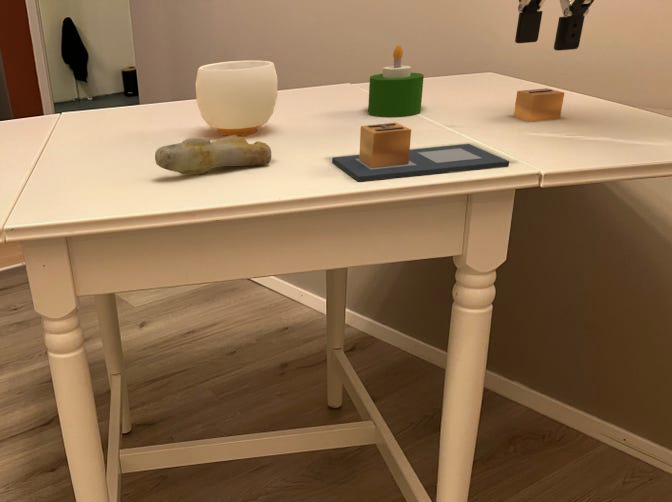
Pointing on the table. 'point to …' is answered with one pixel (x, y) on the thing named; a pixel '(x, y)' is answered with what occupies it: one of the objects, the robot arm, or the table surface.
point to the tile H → (385, 145)
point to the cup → (236, 95)
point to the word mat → (424, 163)
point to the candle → (395, 90)
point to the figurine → (211, 154)
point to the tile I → (538, 104)
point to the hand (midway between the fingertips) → (545, 45)
